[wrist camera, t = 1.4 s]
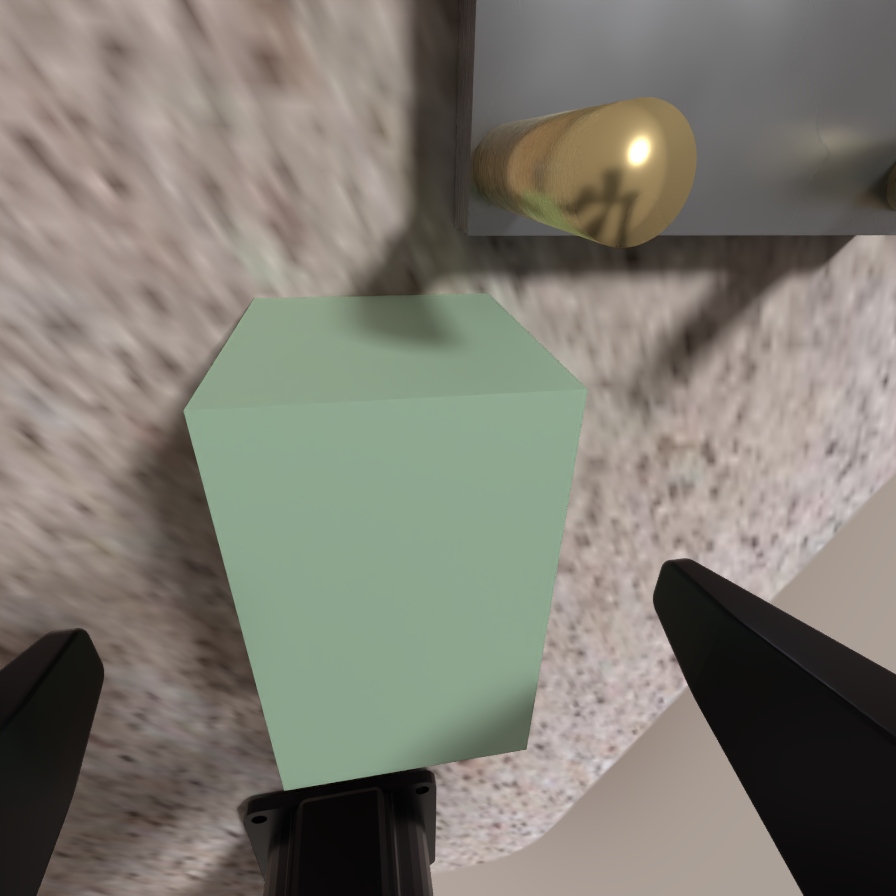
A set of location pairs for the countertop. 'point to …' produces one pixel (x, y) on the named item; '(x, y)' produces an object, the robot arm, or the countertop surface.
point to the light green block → (388, 522)
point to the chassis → (676, 118)
